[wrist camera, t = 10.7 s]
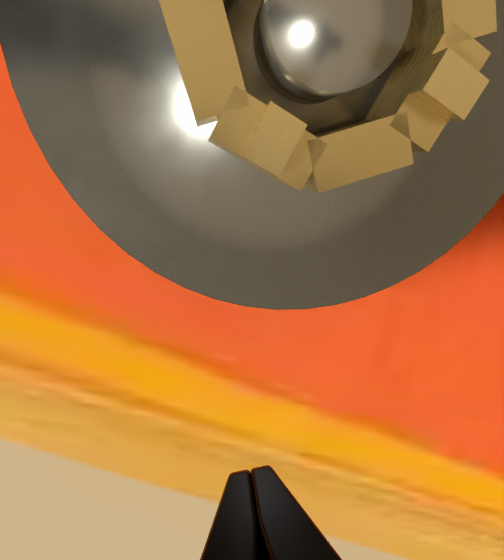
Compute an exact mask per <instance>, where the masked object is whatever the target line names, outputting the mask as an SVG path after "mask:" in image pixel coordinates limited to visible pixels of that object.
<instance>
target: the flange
mask: <svg viewBox="0 0 504 560" xmlns="http://www.w3.org/2000/svg"><path fill="white" fill-rule="evenodd" d="M412 2H413V0H226V1H225V3H224V8H225V12H226V16H227V19H228V23H229V27H230V31H231V35H232V39H233V43H234V46H235V50H236V54H237V58H238V62H239V66H240V70H241V73H242V77H243V81H244V85H245V89H246V92H247V93H248V94H250V95H251V96H253V97H255V98H256V99H258V100H259V101H261V102H262V103H264V104H267V103H268V102H270V101H272V102H273V103H275V104H276V105H278V106H279V107H281V108H282V109H284V110H286V111H287V112H289V113H290V114H292V115H293V116H295V117H296V118H298V119H299V120H301V121H303V122H304V123H306V124H307V127H306V128H305V130H306V131H308V132H309V133H311V134H313V135H314V136H315V135H318V134H322V133H325V132H328V131H332V130H335V129H338V128H341V127H345V126H348V125H351V124H355V123H358V122H361V121H364V119H365V118H366V116H367V114H368V112H369V111H370V109H371V107H372V106H373V104H374V102H375V100H376V99H377V97H378V95H379V93H380V92H381V90H382V88H383V87H384V85H385V83H386V81H387V80H388V78H389V76H390V75H391V73H392V71H393V69H394V68H395V66H396V64H397V62H398V61H399V59H400V57H401V56H402V45H403V43H404V41H405V38H406V35H407V32H408V29H409V25H410V21H411V14H412ZM496 21H497V31H496V32H494V33H491V34H489V35H486V36H484V37H482V38H479V39H477V40H476V41H477V42H479V43H480V44H481V45H482V46H483V47H485V48H486V49H487V50H488V51H489V52H491V54H490V56H489V57H488V59H487V60H486V62H485V63H484V65H483V67H482V68H481V70H480V71H479V72H480V73H481V74H482V75H484V76H485V77H486V78H487V79H489V80H490V81H489V82H488V84H487V86H486V87H485V89H484V90H483V92H482V93H481V95H480V96H479V98H478V100H477V101H476V103H475V104H474V106H473V107H472V109H471V110H470V112H469V114H468V115H467V117H466V118H465V120H463V121H455V122H447V123H446V125H445V127H444V128H443V130H442V131H441V133H440V135H439V136H438V138H437V139H436V141H435V142H434V144H433V146H432V147H431V149H430V150H429V152H412V155H413V163H414V164H411V165H408V166H405V167H402V168H398V169H395V170H392V171H389V172H385V173H382V174H379V175H376V176H372V177H369V178H366V179H363V180H360V181H356V182H353V183H350V184H347V185H343V186H340V187H337V188H334V189H330V190H327V191H324V192H321V193H316V192H313V191H310V190H307V189H304V188H303V189H302V190H301V191H298V190H295V189H293V188H290V187H287V186H285V185H283V184H281V183H280V182H278V181H276V180H274V179H273V178H271V177H269V176H268V175H266V174H264V173H262V172H261V171H259V170H257V169H255V168H254V167H252V166H250V165H249V164H247V163H245V162H243V161H242V160H240V159H238V158H237V157H235V156H233V155H231V154H230V153H228V152H226V151H224V150H223V149H221V148H219V147H218V146H216V145H214V144H212V143H211V142H209V141H208V139H209V137H210V135H211V133H212V131H213V129H214V127H215V125H216V123H217V121H216V122H212V123H209V124H206V125H202V126H199V127H197V125H196V122H195V118H194V115H193V112H192V109H191V105H190V102H189V99H188V96H187V93H186V89H185V86H184V83H183V80H182V76H181V73H180V70H179V67H178V64H177V60H176V57H175V54H174V51H173V47H172V44H171V41H170V38H169V35H168V31H167V28H166V25H165V22H164V18H163V14H162V11H161V7H160V3H159V0H0V43H1V47H2V50H3V54H4V58H5V61H6V65H7V69H8V72H9V76H10V79H11V83H12V87H13V89H14V91H15V94H16V96H17V99H18V101H19V104H20V106H21V109H22V111H23V114H24V116H25V119H26V121H27V124H28V126H29V129H30V130H31V132H32V134H33V136H34V138H35V140H36V142H37V143H38V145H39V147H40V149H41V151H42V153H43V154H44V156H45V158H46V160H47V162H48V164H49V165H50V167H51V169H52V170H53V171H54V173H55V174H56V176H57V177H58V178H59V180H60V181H61V183H62V184H63V186H64V187H65V188H66V190H67V191H68V193H69V194H70V195H71V197H72V198H73V200H74V201H75V202H76V203H77V204H78V205H79V207H80V208H81V209H82V210H83V211H84V212H85V213H86V214H87V215H88V217H89V218H90V219H91V220H92V221H93V222H94V223H95V224H96V225H97V227H98V228H99V229H100V230H101V231H103V232H104V233H105V234H106V235H107V236H108V237H109V238H110V239H112V240H113V241H114V242H115V243H116V244H117V245H118V246H120V247H121V248H122V249H123V250H124V251H125V252H126V253H128V254H129V255H131V256H132V257H133V258H135V259H136V260H138V261H139V262H141V263H142V264H144V265H145V266H147V267H148V268H150V269H151V270H152V271H154V272H155V273H157V274H159V275H161V276H163V277H165V278H167V279H169V280H171V281H173V282H175V283H176V284H178V285H180V286H182V287H184V288H186V289H189V290H192V291H194V292H197V293H200V294H203V295H205V296H208V297H211V298H213V299H216V300H221V301H225V302H229V303H233V304H238V305H242V306H247V307H256V308H266V309H275V310H281V309H310V308H317V307H324V306H331V305H337V304H340V303H344V302H348V301H352V300H355V299H359V298H363V297H366V296H368V295H371V294H373V293H376V292H378V291H381V290H383V289H386V288H388V287H391V286H393V285H395V284H397V283H399V282H400V281H402V280H404V279H406V278H408V277H410V276H412V275H413V274H415V273H417V272H419V271H420V270H422V269H423V268H425V267H426V266H428V265H429V264H431V263H432V262H433V261H435V260H436V259H438V258H439V257H441V256H442V255H444V254H445V253H446V252H447V251H448V250H450V249H451V248H452V247H453V246H454V245H455V244H457V243H458V242H459V241H460V240H461V239H462V238H463V237H465V236H466V235H467V234H468V233H469V232H470V231H471V230H472V229H473V228H474V227H475V226H476V225H477V224H478V223H479V222H480V220H481V219H482V218H483V217H484V216H485V215H486V214H487V213H488V212H489V211H490V210H491V209H492V208H493V206H494V205H495V204H496V202H497V201H498V200H499V198H500V197H501V196H502V194H503V193H504V0H496Z"/></svg>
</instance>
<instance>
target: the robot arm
mask: <svg viewBox="0 0 504 560" xmlns="http://www.w3.org/2000/svg"><path fill="white" fill-rule="evenodd" d="M200 560H342V559H341V558H340V557H339V555H338V554H337V552H336V551H335V550H334V549H333V547H332V546H331V545H330V543H329V542H328V541H327V539H326V538H325V537H324V535H323V534H322V533H321V531H320V530H319V529H318V528H317V526H316V525H315V524H314V522H313V521H312V520H311V518H310V517H309V516H308V514H307V513H306V512H305V511H304V509H303V508H302V507H301V505H300V504H299V503H298V501H297V500H296V499H295V497H294V496H293V495H292V493H291V492H290V491H289V490H288V488H287V487H286V486H285V484H284V483H283V482H282V480H281V479H280V478H279V476H278V475H277V474H276V473H275V471H274V470H273V469H272V468H271V467H270V466H268V465H266V466H261V467H257V468H253V469H252V470H251V474H250V471H249V470H242V471H238V472H233V473H231V474H230V475H229V477H228V480H227V483H226V486H225V489H224V491H223V494H222V497H221V500H220V503H219V506H218V509H217V512H216V515H215V518H214V521H213V524H212V527H211V529H210V532H209V535H208V538H207V541H206V544H205V547H204V550H203V553H202V556H201V559H200Z"/></svg>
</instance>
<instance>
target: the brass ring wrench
mask: <svg viewBox="0 0 504 560" xmlns="http://www.w3.org/2000/svg"><path fill="white" fill-rule="evenodd" d="M225 1H226V0H159V3H160V7H161V11H162V14H163V18H164V22H165V25H166V28H167V31H168V35H169V38H170V41H171V44H172V47H173V51H174V54H175V57H176V60H177V64H178V67H179V70H180V73H181V76H182V80H183V83H184V86H185V89H186V93H187V96H188V99H189V102H190V105H191V109H192V112H193V115H194V118H195V122H196V125H197V127H199V126H202V125H206V124H209V123H212V122H216V121H217V123H216V125H215V127H214V129H213V131H212V133H211V135H210V137H209V139H208V141H209V142H211V143H212V144H214V145H216V146H218V147H219V148H221V149H223V150H224V151H226V152H228V153H230V154H231V155H233V156H235V157H237V158H238V159H240V160H242V161H243V162H245V163H247V164H249V165H250V166H252V167H254V168H255V169H257V170H259V171H261V172H262V173H264V174H266V175H268V176H269V177H271V178H273V179H274V180H276V181H278V182H280V183H281V184H283V185H285V186H287V187H290V188H293V189H295V190H298V191H301V190H302V189H303V188H304V189H307V190H310V191H313V192H316V193H321V192H324V191H327V190H330V189H334V188H337V187H340V186H343V185H347V184H350V183H353V182H356V181H360V180H363V179H366V178H369V177H372V176H376V175H379V174H382V173H385V172H389V171H392V170H395V169H398V168H402V167H405V166H408V165H411V164H414V163H413V155H412V152H429V150H430V149H431V147H432V146H433V144H434V142H435V141H436V139H437V138H438V136H439V135H440V133H441V131H442V130H443V128H444V127H445V125H446V123H447V122H455V121H463V120H465V118H466V117H467V115H468V114H469V112H470V110H471V109H472V107H473V106H474V104H475V103H476V101H477V100H478V98H479V96H480V95H481V93H482V92H483V90H484V89H485V87H486V86H487V84H488V82H489V81H490V80H489V79H487V78H486V77H485V76H484V75H482V74H481V73H480V72H479V71H480V70H481V68H482V67H483V65H484V63H485V62H486V60H487V59H488V57H489V56H490V54H491V52H489V51H488V50H487V49H486V48H485V47H483V46H482V45H481V44H480V43H479V42H477V41H476V40H477V39H479V38H482V37H484V36H486V35H489V34H491V33H494V32H496V31H497V21H496V0H413V2H412V14H411V21H410V25H409V29H408V32H407V35H406V38H405V41H404V43H403V45H402V56H401V57H400V59H399V61H398V62H397V64H396V66H395V68H394V69H393V71H392V73H391V75H390V76H389V78H388V80H387V81H386V83H385V85H384V87H383V88H382V90H381V92H380V93H379V95H378V97H377V99H376V100H375V102H374V104H373V106H372V107H371V109H370V111H369V112H368V114H367V116H366V118H365V119H364V121H361V122H358V123H355V124H351V125H348V126H345V127H341V128H338V129H335V130H332V131H328V132H325V133H322V134H318V135H315V136H314V135H313V134H311V133H309V132H308V131H306V130H305V128H306V127H307V124H306V123H304V122H303V121H301V120H299V119H298V118H296V117H295V116H293V115H292V114H290V113H289V112H287V111H286V110H284V109H282V108H281V107H279V106H278V105H276V104H275V103H273V102H272V101H270V102H268V103H267V104H264V103H262V102H261V101H259V100H258V99H256V98H255V97H253V96H251V95H250V94H248V93H247V92H246V89H245V85H244V81H243V77H242V73H241V70H240V66H239V62H238V58H237V54H236V50H235V46H234V43H233V39H232V35H231V31H230V27H229V23H228V19H227V16H226V12H225V8H224V3H225Z"/></svg>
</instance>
